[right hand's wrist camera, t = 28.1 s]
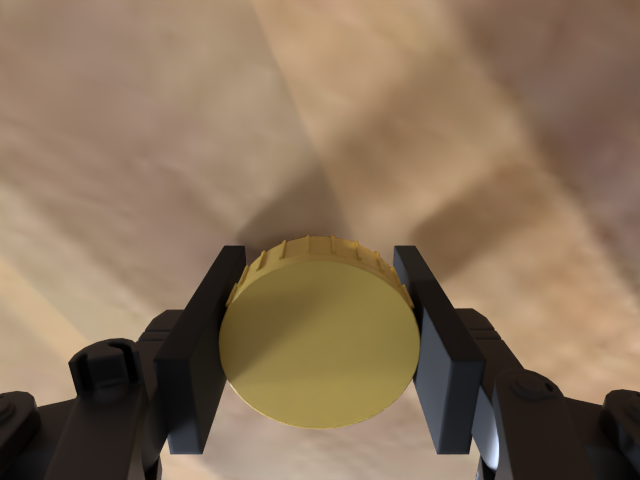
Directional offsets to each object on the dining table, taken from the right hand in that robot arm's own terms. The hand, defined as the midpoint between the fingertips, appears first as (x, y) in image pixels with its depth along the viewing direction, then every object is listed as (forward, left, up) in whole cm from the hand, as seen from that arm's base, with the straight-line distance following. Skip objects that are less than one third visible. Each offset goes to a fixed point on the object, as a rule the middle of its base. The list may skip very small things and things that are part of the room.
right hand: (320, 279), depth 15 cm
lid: (0, 0, +4) cm, 4 cm away
